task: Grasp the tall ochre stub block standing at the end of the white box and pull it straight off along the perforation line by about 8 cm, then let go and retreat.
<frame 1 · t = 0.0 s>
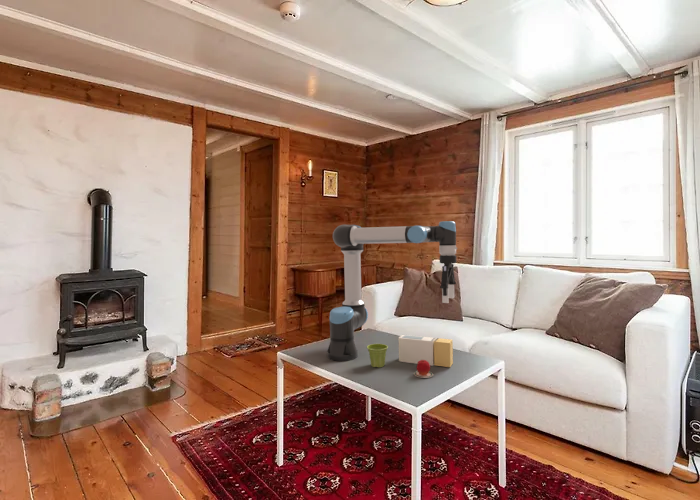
hand: (448, 300, 174), 28 cm above the table, fingers open, 13 cm apart
plant pot: (377, 366, 170), on the table
white box: (417, 361, 174), on the table
sunglasses case: (421, 351, 190), on the table
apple: (423, 375, 157), on the table
stub: (443, 352, 168), point 6 cm above the table, slide at 0.0 cm
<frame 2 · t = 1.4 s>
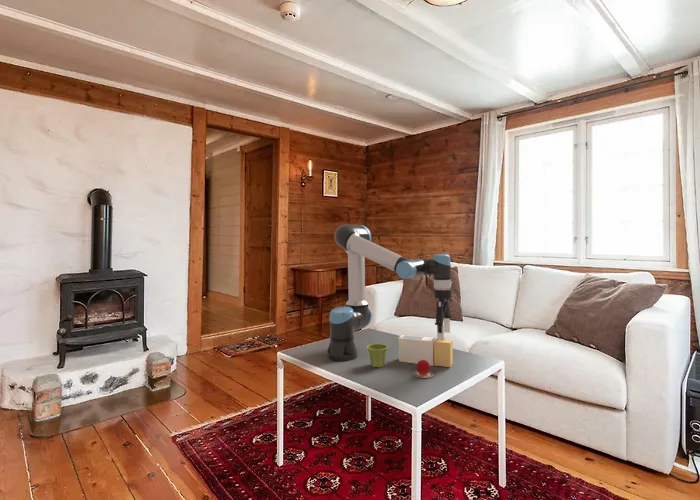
hand: (444, 336, 168), 13 cm above the table, fingers open, 13 cm apart
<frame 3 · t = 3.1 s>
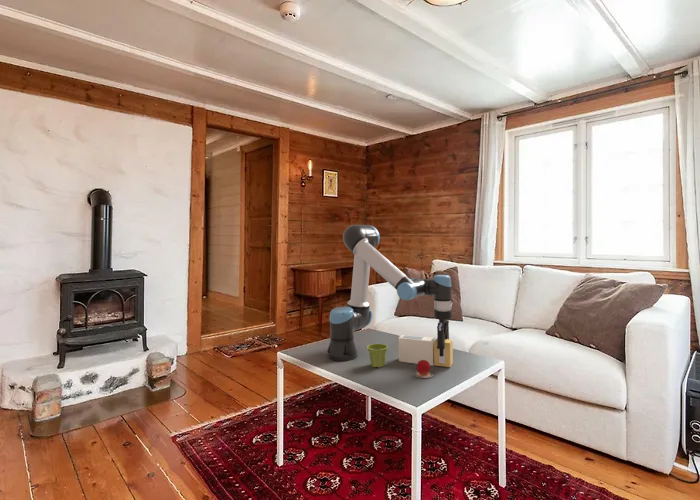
hand: (443, 360, 168), 2 cm above the table, fingers closed on stub, 6 cm apart
stub: (443, 352, 168), point 6 cm above the table, slide at 0.0 cm, touching gripper
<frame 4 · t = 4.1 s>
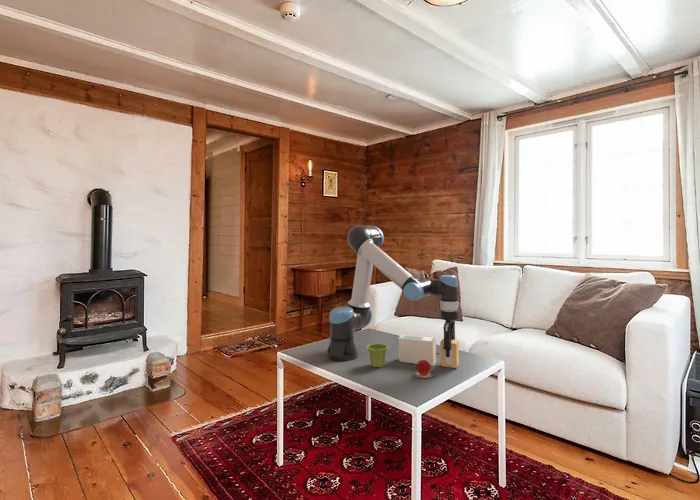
hand: (449, 361, 167), 2 cm above the table, fingers closed on stub, 6 cm apart
stub: (449, 352, 167), point 6 cm above the table, slide at 2.7 cm, touching gripper
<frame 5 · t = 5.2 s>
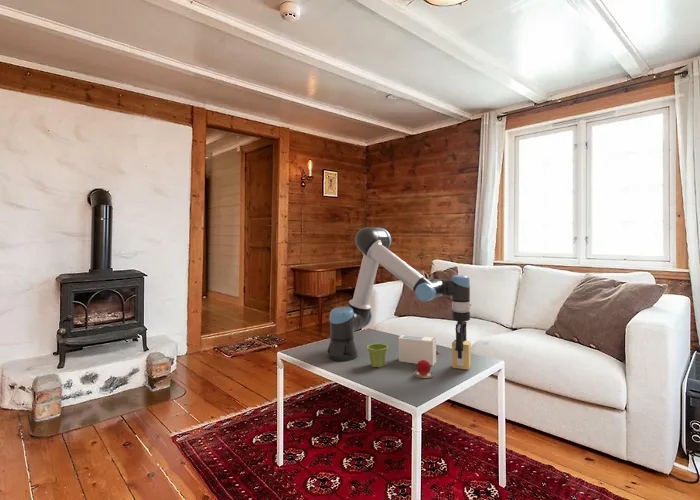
hand: (461, 362, 165), 2 cm above the table, fingers closed on stub, 6 cm apart
stub: (461, 354, 165), point 6 cm above the table, slide at 7.8 cm, touching gripper
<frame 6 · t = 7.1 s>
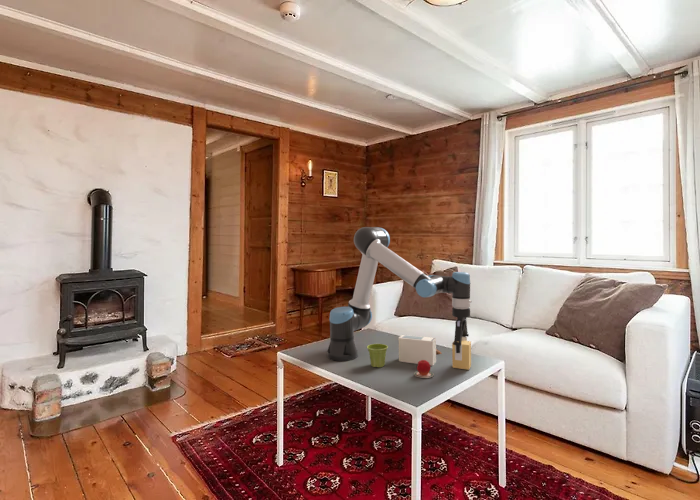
hand: (461, 355, 165), 5 cm above the table, fingers open, 13 cm apart
stub: (461, 354, 165), point 6 cm above the table, slide at 8.0 cm
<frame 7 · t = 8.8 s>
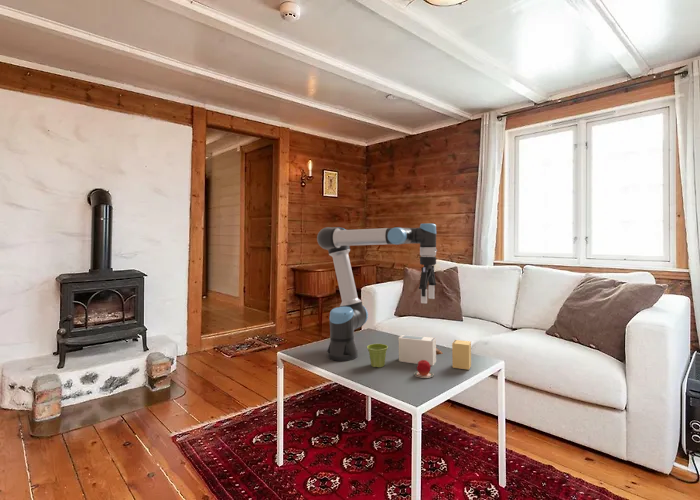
hand: (427, 300, 178), 27 cm above the table, fingers open, 13 cm apart
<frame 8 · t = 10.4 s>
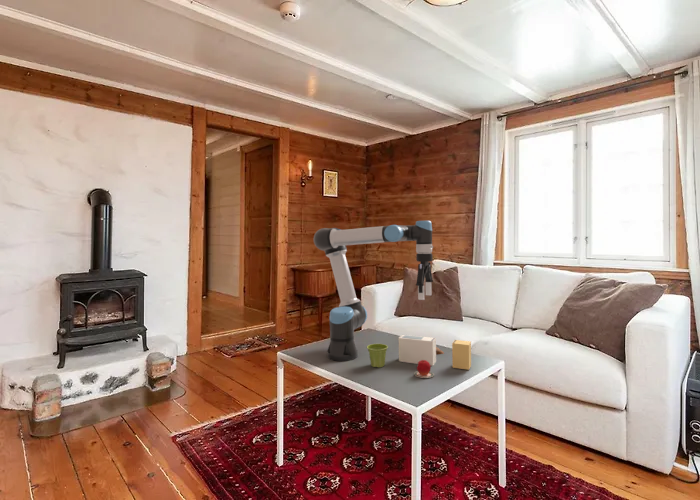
hand: (425, 297, 179), 29 cm above the table, fingers open, 13 cm apart
at the end: stub slide at 8.0 cm; the gripper is holding nothing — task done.
